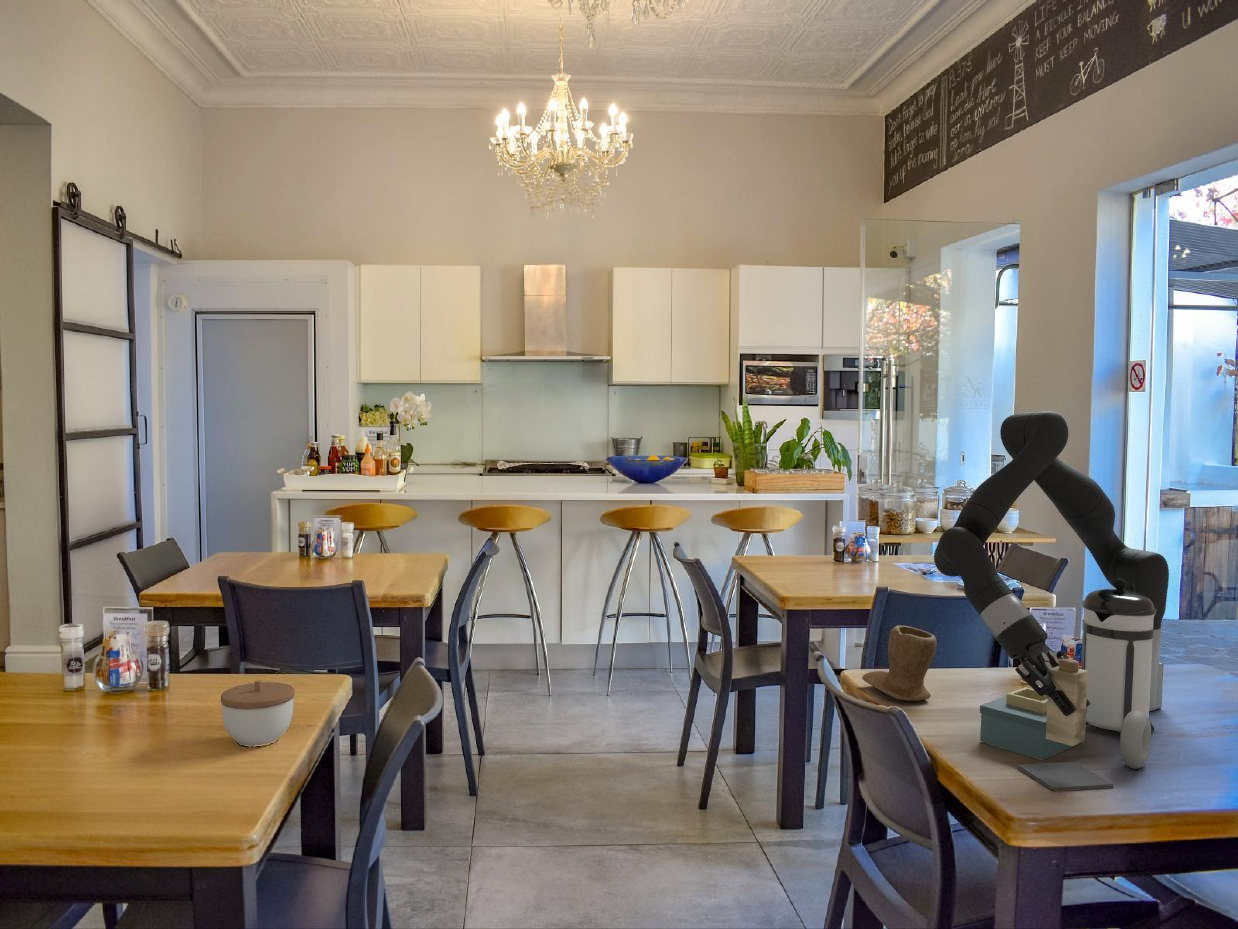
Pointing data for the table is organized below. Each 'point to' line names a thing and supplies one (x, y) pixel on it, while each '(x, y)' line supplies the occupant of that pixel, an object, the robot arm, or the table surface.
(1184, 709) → the table surface
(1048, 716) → the wooden block
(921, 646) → the brown top hat
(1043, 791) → the table surface
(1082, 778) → the rubber mat
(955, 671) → the table surface
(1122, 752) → the donut
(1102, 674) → the coffee press
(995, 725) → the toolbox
